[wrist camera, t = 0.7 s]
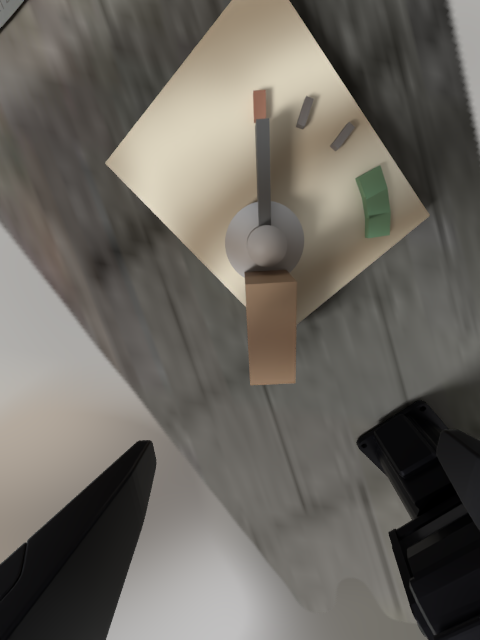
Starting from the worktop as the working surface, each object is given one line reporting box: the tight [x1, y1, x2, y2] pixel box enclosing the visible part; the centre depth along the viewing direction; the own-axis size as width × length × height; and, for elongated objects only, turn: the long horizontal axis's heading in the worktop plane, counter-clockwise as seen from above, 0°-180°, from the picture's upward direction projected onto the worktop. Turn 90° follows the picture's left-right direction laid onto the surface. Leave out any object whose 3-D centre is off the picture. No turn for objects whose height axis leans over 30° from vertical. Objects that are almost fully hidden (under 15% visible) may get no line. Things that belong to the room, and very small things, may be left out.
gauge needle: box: [225, 118, 304, 385], centre depth 14 cm, size 13×4×4 cm, turn 3°
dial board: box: [106, 0, 430, 325], centre depth 16 cm, size 14×12×2 cm
